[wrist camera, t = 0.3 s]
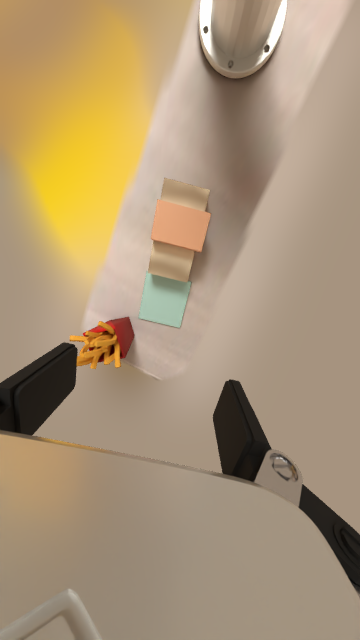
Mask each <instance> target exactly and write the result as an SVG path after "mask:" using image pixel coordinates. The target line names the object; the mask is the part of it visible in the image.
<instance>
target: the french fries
mask: <svg viewBox="0 0 360 640" xmlns="http://www.w3.org/2000/svg"><path fill="white" fill-rule="evenodd" d="M83 335H84V336H70V341H79V342H85V344H86V345H85V346H84V347H83V348H82V349H81V351H80V356H77V366H82V365H87V364H89V363H91V367H90V368H92V369H96V366H97V362H102V361H104V365H107V364H110V362H112V361H113V360H115V367H116V368H118V367H121V363H120V359H121V358H125V357H126V355H127V352H128V350H129V347H130V345H131V343H132V340H133V338H134V332H133V329H132V325H131V322H130V319H129V317H125V318H120V319H115V320H110V321H108V322H105V323H104V322H102V321H99V323H98V326H97V327H95V328H93V329H91V330H89V331H86V332H85V333H83ZM88 348H89V350H90V351H88V352H87V350H88Z"/></svg>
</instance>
